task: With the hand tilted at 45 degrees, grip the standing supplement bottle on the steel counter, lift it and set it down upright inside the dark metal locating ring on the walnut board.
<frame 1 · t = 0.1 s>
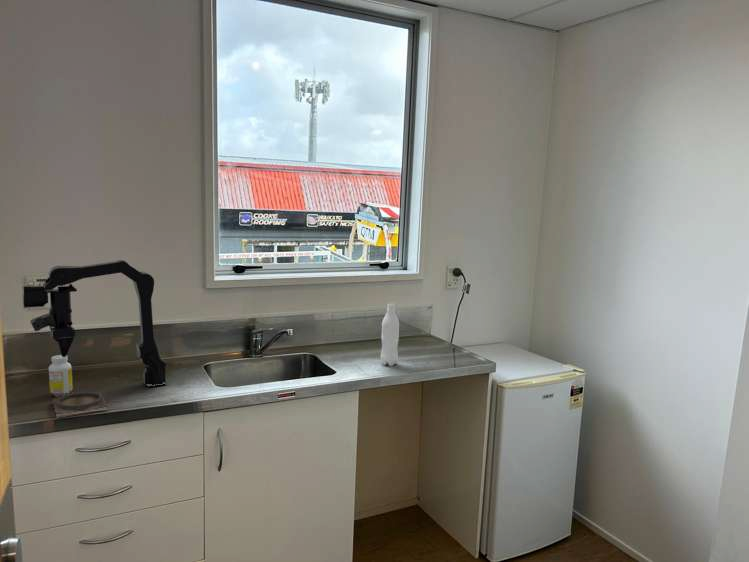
hand: (62, 353, 188), 15 cm above the worktop, tool pointing down, fingers open, 9 cm apart
water bottle: (389, 364, 238), on the worktop
supplement bottle: (61, 395, 192), on the worktop
locating board: (80, 407, 182), on the worktop
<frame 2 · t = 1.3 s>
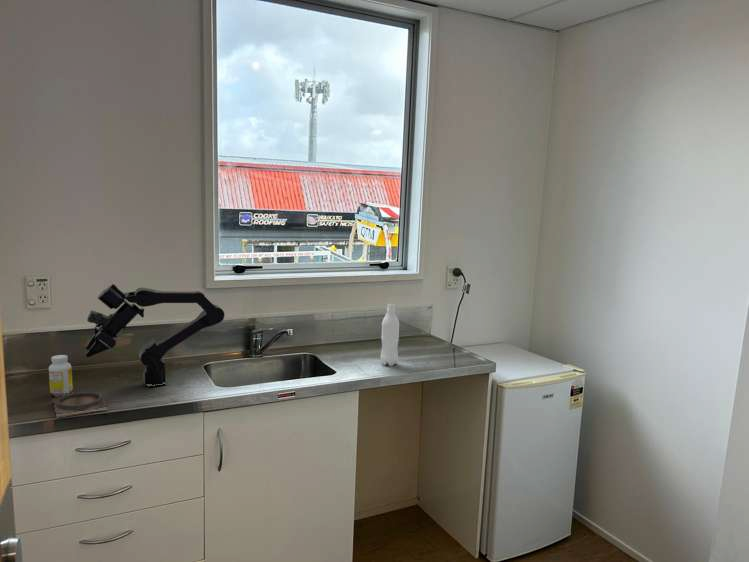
hand: (86, 352, 194), 13 cm above the worktop, tool tilted 45°, fingers open, 9 cm apart
nothing on the worktop moved.
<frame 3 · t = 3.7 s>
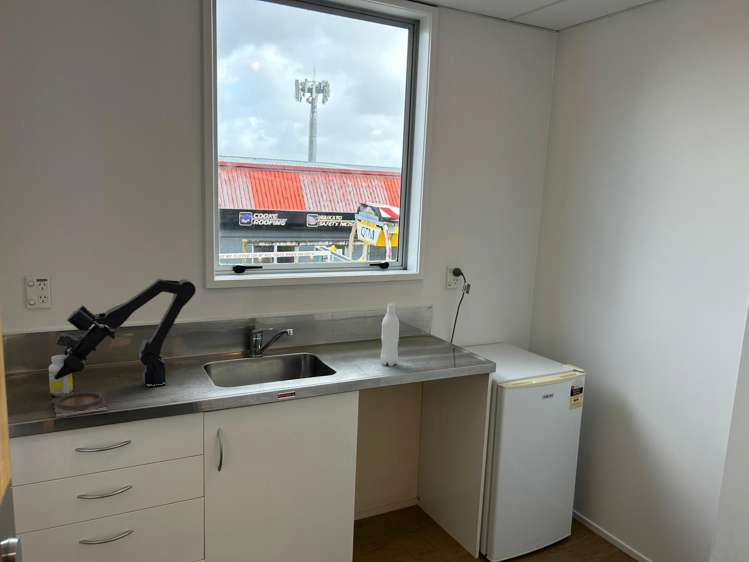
hand: (55, 375, 191), 7 cm above the worktop, tool tilted 45°, fingers closed on supplement bottle, 7 cm apart
supplement bottle: (61, 394, 192), on the worktop, touching gripper
everything else where it was.
when the fingers open (9 cm above the worktop, at t = 8.2 s): supplement bottle stays where it is, resting on locating board.
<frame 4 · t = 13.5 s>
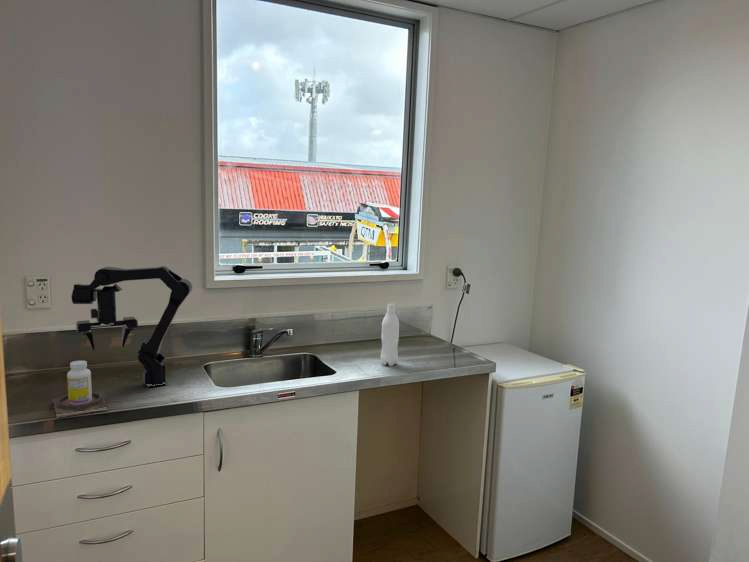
hand: (108, 348, 201), 13 cm above the worktop, tool pointing down, fingers open, 9 cm apart
supplement bottle: (80, 402, 182), point 1 cm above the worktop, touching locating board
everything else where it was.
at the end: supplement bottle 0.2 cm off-centre on the locating board, point 1.3 cm above the locating board's base; supplement bottle tilted 0°; the gripper is holding nothing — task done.
